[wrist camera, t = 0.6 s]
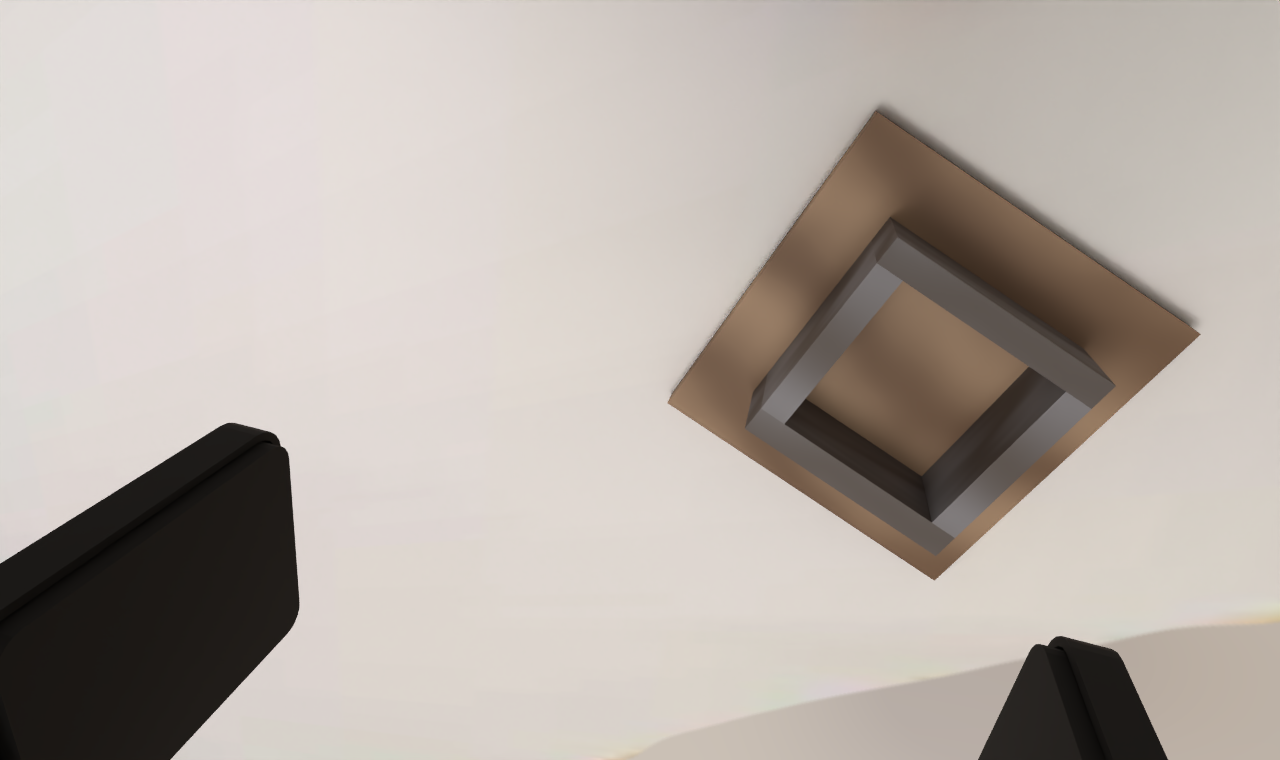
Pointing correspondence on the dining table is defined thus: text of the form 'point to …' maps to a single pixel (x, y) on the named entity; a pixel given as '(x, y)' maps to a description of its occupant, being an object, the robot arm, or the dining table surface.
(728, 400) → the can holder
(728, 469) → the dining table surface
